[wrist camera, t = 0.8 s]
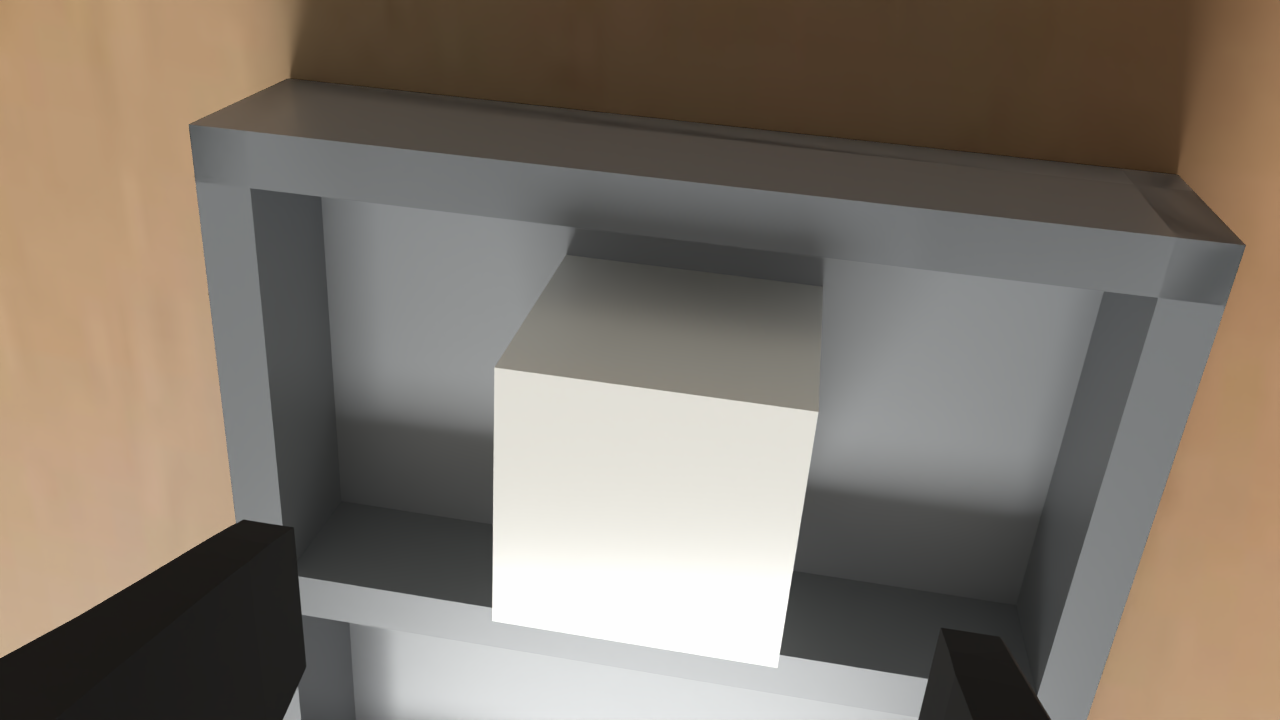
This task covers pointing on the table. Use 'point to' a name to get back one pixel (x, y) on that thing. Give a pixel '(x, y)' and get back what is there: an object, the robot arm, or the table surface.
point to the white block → (655, 457)
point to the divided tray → (716, 243)
